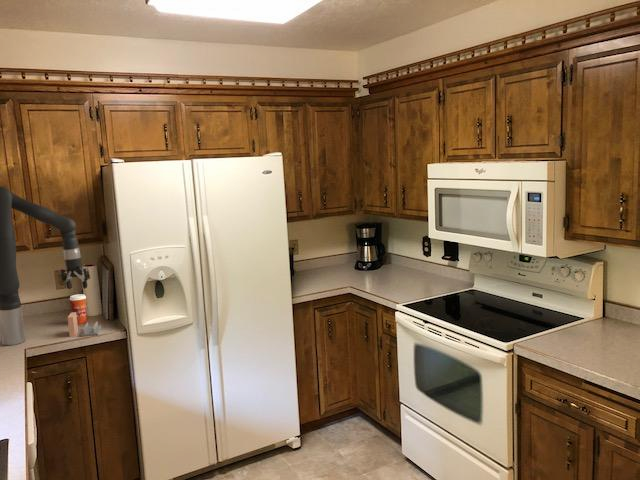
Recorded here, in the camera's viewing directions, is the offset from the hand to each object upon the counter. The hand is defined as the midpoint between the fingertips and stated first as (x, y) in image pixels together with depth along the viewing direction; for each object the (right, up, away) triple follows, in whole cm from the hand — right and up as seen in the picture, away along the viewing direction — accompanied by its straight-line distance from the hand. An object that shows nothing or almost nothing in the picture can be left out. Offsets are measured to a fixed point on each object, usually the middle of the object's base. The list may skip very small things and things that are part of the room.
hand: (77, 288), depth 270 cm
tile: (-1, -23, -2) cm, 23 cm away
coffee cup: (-6, -20, +16) cm, 26 cm away
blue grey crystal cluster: (+7, -22, 0) cm, 23 cm away
